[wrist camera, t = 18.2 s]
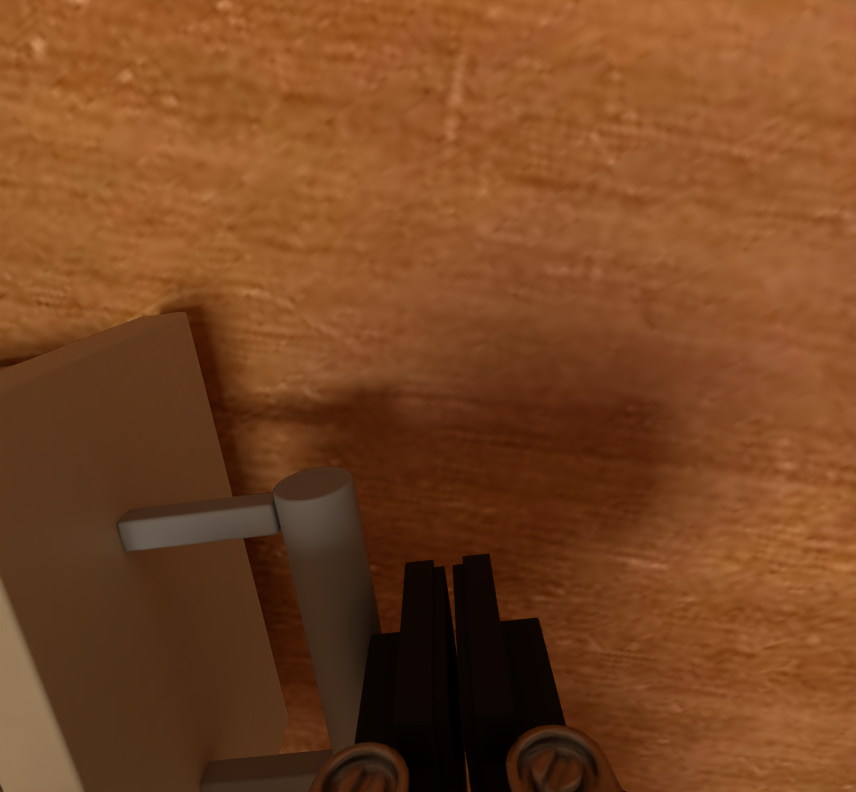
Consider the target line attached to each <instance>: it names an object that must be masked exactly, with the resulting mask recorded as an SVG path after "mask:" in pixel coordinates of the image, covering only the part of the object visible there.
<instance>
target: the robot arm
mask: <svg viewBox="0 0 856 792" xmlns="http://www.w3.org/2000/svg"><path fill="white" fill-rule="evenodd" d="M462 558H463V564H457V565H453V584H454V603H455V622H456V641H457V652H456V645H455V638H454V630H453V623H452V616H451V609H450V602H449V595H448V588H447V581H446V573H445V567H444V566H439V567H434V562H433V560H425V561H416V562H407V563H406V565H405V576H404V589H403V602H402V614H401V627H400V632H394V633H384V634H374V635H372V636H371V637H370V642H369V648H368V654H367V661H366V668H365V675H364V682H363V688H362V695H361V702H360V709H359V715H358V722H357V729H356V736H355V742H354V745H352V746H349V747H346V748H344V749H342V750H340V751H339V752H337V753H336V754H334V755H333V756H331V757H330V758H329V759H328V760H327V761H326V762H325V764H324V765H323V766H322V767H321V768H320V769H319V771H318V773H317V775H316V777H315V778H314V780H313V782H312V785H311V788H310V790H309V792H467V777H466V760H465V752H466V759H467V766H468V773H469V780H470V787H471V792H626V791H624V790H622V788H621V786H620V784H619V782H618V780H617V778H616V776H615V774H614V772H613V770H612V768H611V766H610V764H609V762H608V760H607V758H606V756H605V754H604V753H603V751H602V750H601V748H600V747H599V746H598V744H597V743H596V742H595V741H594V740H592V739H591V738H590V737H589V736H587V735H586V734H585V733H583V732H581V731H578V730H576V729H574V728H572V727H568V726H566V724H565V720H564V716H563V712H562V708H561V704H560V700H559V697H558V693H557V689H556V685H555V681H554V677H553V673H552V669H551V665H550V661H549V657H548V653H547V649H546V645H545V642H544V638H543V634H542V630H541V626H540V622H539V619H538V618H529V619H519V620H509V621H500V618H499V611H498V605H497V599H496V593H495V586H494V580H493V574H492V568H491V561H490V555H489V554H480V555H471V556H463V557H462Z"/></svg>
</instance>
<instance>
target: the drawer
mask: <svg viewBox="0 0 856 792" xmlns="http://www.w3.org/2000/svg"><path fill="white" fill-rule="evenodd" d="M280 528H281V531H282V535H283V540H284V544H285V548H286V553H287V557H288V561H289V566H290V570H291V574H292V579H293V583H294V587H295V592H296V596H297V600H298V605H299V609H300V613H301V618H302V622H303V626H304V631H305V635H306V639H307V644H308V648H309V652H310V657H311V661H312V665H313V670H314V674H315V678H316V683H317V687H318V691H319V696H320V700H321V704H322V709H323V713H324V717H325V722H326V726H327V730H328V735H329V739H330V743H331V748H332V749H329V750H319V751H309V752H299V753H288V754H279V752H280V748H281V744H282V741H283V737H284V734H285V730H286V727H287V723H288V720H289V717H288V713H287V709H286V705H285V701H284V697H283V693H282V689H281V686H280V682H279V678H278V674H277V670H276V666H275V662H274V658H273V654H272V650H271V646H270V642H269V638H268V634H267V630H266V626H265V622H264V618H263V614H262V610H261V606H260V602H259V598H258V594H257V591H256V587H255V583H254V579H253V575H252V571H251V567H250V563H249V559H248V555H247V551H246V547H245V543H244V539H243V538H249V537H258V536H267V535H275V534H277V533H279V530H280ZM374 634H382V630H381V625H380V619H379V614H378V609H377V603H376V598H375V593H374V587H373V582H372V577H371V571H370V566H369V560H368V555H367V550H366V544H365V539H364V534H363V528H362V523H361V518H360V512H359V507H358V501H357V496H356V491H355V485H354V480H353V476H352V474H351V473H350V472H349V471H348V470H347V469H344V468H341V467H317V468H312V469H307V470H304V471H300V472H298V473H295V474H293V475H290V476H288V477H287V478H285V479H283V480H282V481H281V482H279V483H278V484H277V485H276V487H275V488H274V492H270V493H261V494H253V495H244V496H236V497H233V496H232V492H231V488H230V484H229V480H228V476H227V472H226V468H225V464H224V460H223V456H222V452H221V448H220V444H219V440H218V436H217V432H216V428H215V424H214V420H213V416H212V412H211V408H210V404H209V401H208V397H207V393H206V389H205V385H204V381H203V377H202V373H201V369H200V365H199V361H198V357H197V353H196V349H195V345H194V341H193V337H192V333H191V329H190V325H189V321H188V317H187V314H186V312H175V313H168V314H160V315H153V316H146V317H140V318H137V319H134V320H132V321H129V322H127V323H124V324H121V325H119V326H116V327H113V328H111V329H108V330H106V331H103V332H100V333H98V334H95V335H92V336H90V337H87V338H84V339H82V340H79V341H77V342H74V343H71V344H69V345H66V346H63V347H61V348H58V349H55V350H53V351H50V352H48V353H45V354H42V355H40V356H37V357H34V358H32V359H29V360H26V361H24V362H21V363H19V364H16V365H11V366H3V367H0V792H309V790H310V788H311V785H312V782H313V780H314V778H315V777H316V775H317V773H318V771H319V769H320V768H321V767H322V766H323V765H324V764H325V762H326V761H327V760H328V759H329V758H330V757H331V756H333V755H334V754H336V753H337V752H339V751H340V750H342V749H344V748H346V747H349V746H352V745H354V742H355V736H356V729H357V722H358V715H359V709H360V702H361V695H362V688H363V682H364V675H365V668H366V661H367V654H368V648H369V642H370V637H371V636H372V635H374Z"/></svg>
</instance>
